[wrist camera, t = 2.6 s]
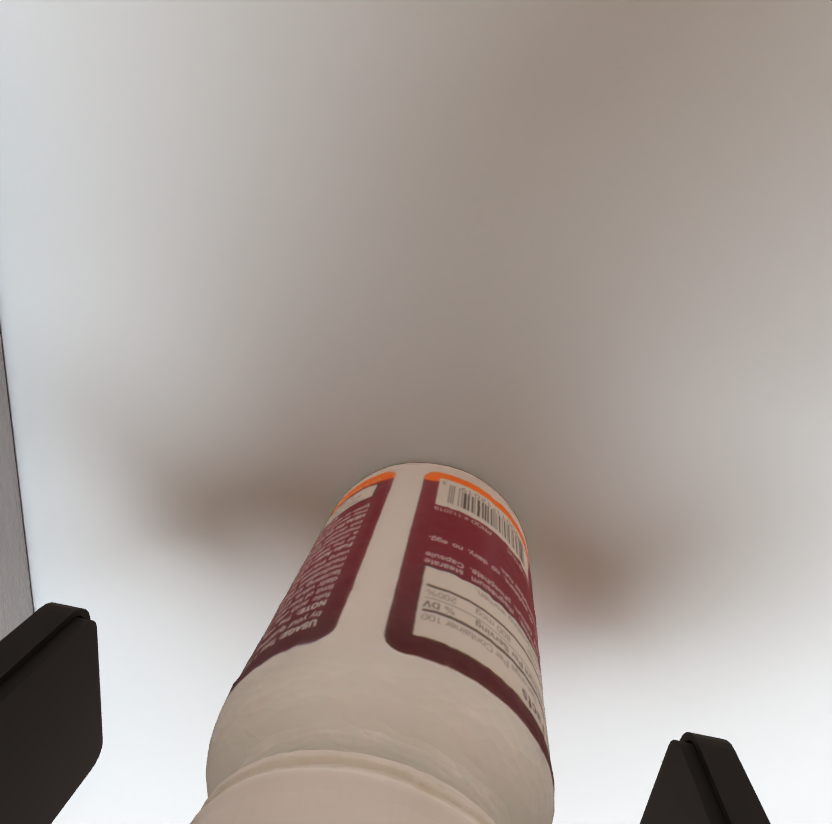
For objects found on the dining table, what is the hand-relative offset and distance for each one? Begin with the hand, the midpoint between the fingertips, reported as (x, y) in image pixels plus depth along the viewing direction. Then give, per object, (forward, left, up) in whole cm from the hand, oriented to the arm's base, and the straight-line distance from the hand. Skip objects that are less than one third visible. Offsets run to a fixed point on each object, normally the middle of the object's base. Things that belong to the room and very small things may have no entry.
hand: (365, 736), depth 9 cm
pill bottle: (-1, 0, -5) cm, 5 cm away
